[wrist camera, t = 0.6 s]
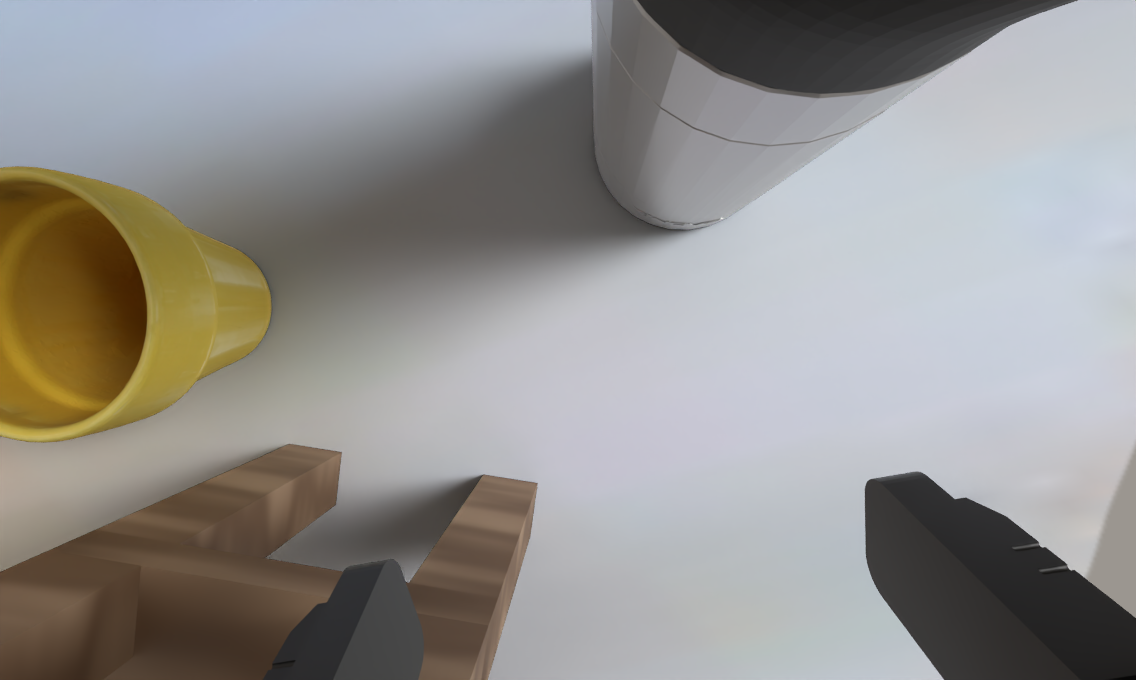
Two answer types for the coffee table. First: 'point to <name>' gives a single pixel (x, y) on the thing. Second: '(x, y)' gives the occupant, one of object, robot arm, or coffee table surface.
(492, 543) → the walnut stand
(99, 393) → the plant pot
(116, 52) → the coffee table surface
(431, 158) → the coffee table surface
